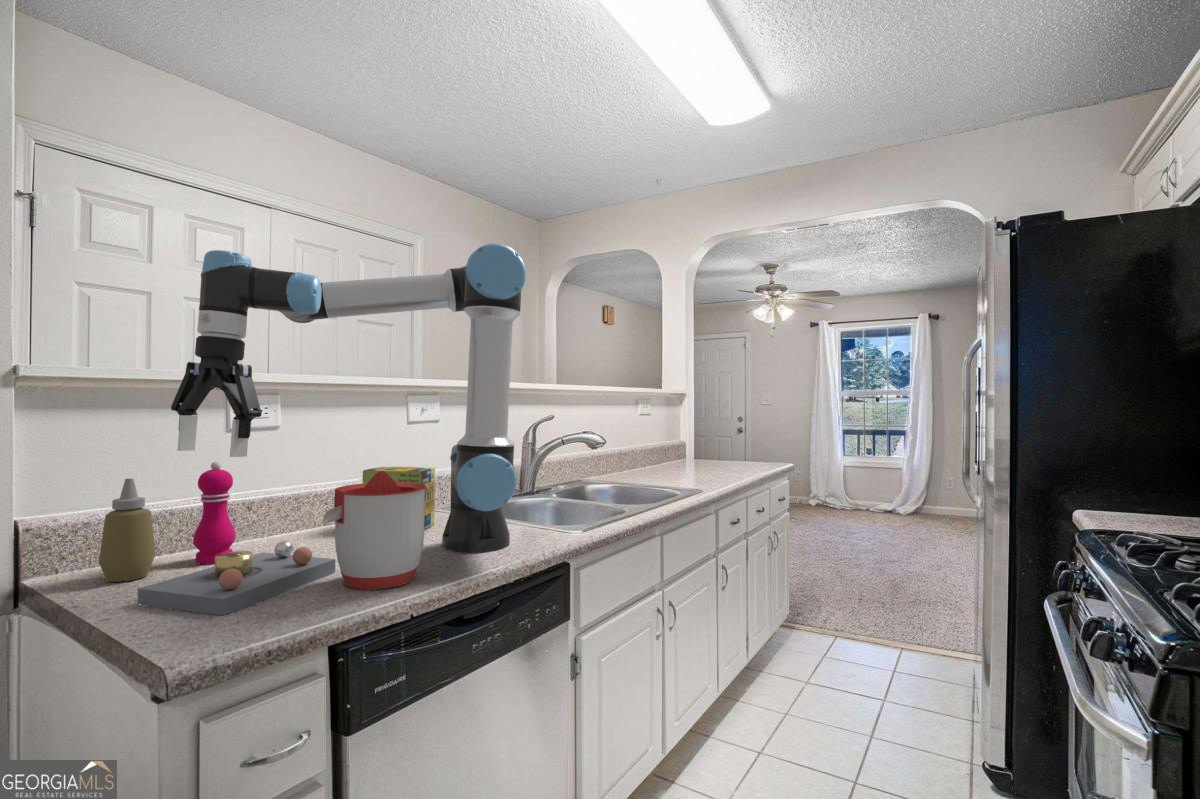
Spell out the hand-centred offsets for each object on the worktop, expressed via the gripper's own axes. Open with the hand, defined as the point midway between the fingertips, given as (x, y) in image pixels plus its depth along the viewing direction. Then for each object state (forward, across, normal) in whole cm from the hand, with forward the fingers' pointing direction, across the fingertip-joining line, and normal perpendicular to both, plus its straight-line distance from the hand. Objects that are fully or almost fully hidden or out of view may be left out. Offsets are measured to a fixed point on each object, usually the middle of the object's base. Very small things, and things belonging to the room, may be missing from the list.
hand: (211, 453), depth 106 cm
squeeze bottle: (+24, -13, -4) cm, 27 cm away
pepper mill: (+23, -10, +10) cm, 27 cm away
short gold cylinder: (+20, +10, -1) cm, 22 cm away
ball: (+18, +9, +10) cm, 22 cm away
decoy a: (+18, +16, +7) cm, 25 cm away
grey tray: (+22, +11, 0) cm, 25 cm away
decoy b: (+18, +17, -8) cm, 26 cm away
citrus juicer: (+21, +30, +11) cm, 38 cm away
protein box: (+21, +3, +49) cm, 54 cm away
